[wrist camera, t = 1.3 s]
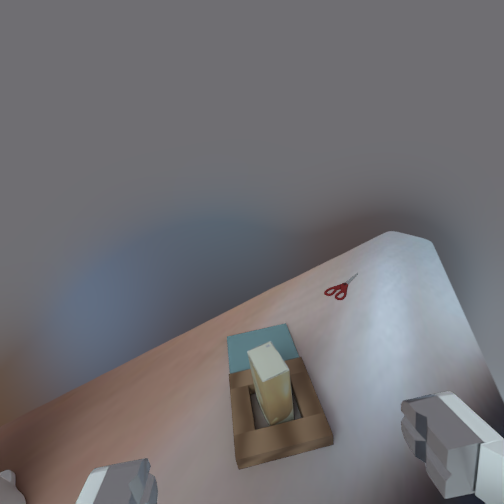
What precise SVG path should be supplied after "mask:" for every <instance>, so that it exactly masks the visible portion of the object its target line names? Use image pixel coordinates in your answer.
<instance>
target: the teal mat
mask: <svg viewBox="0 0 504 504" xmlns="http://www.w3.org/2000/svg"><path fill="white" fill-rule="evenodd" d="M269 341H271V342H272V344H273V345H274V347H275V348H276V350H277V351H278V352H279V354H280V355H281V357H282V359H283V360H284V361H286V360H290V359H294V358H299V355H298V353H297V350H296V348H295V345H294V343H293V340H292V338H291V335H290V333H289V330H288V328H287V325H286V324H281V325H277V326H273V327H268V328H264V329H259V330H255V331H251V332H246V333H242V334H237V335H233V336H228V337H227V343H228V355H229V367H230V374H231V373H235V372H240V371H244V370H248V369H251V368H250V363H249V358H248V354H247V351H248V350H251V349H253V348H255V347H257V346H260V345H262V344H264V343H267V342H269Z"/></svg>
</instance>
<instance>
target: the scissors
mask: <svg viewBox="0 0 504 504" xmlns="http://www.w3.org/2000/svg"><path fill="white" fill-rule="evenodd" d="M357 275H358V273H357V274H355V275H354V276H353V277H352V278H350V279H349V280H348V281H347V282H346V283H342V284H340V285H337V286H334V287H331V288H329V289H327V290H326V291H325V292H324V294H325V295H327V296H331V295H333V294H334V293H335V292H336V291H337V290H339V289H341V291H340V292H338V293H337V294H336V295H335V298H336V299H337V300H343V299H344V298H345V297H346V293H347V287H348V284H349V283H350V282H351V281H352V280H353V279H354V278H355V277H356V276H357ZM331 289H335V290H334V291H333V292H332V293H331V294H327V292H328V291H329V290H331ZM341 293H344V296H343V297H342V298H338V297H337V296H338V295H339V294H341Z"/></svg>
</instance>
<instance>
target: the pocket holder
mask: <svg viewBox="0 0 504 504" xmlns="http://www.w3.org/2000/svg"><path fill="white" fill-rule="evenodd" d="M284 362H285V363H286V365H287V366H288V368H289V371H290V381H291V387H292V390H293V393H294V396H295V399H296V402H297V405H298V408H299V411H300V414H301V418H300V419H296V420H292V421H288V422H285V423H281V424H277V425H273V426H269V427H265V428H261V429H257V430H256V429H255V423H254V416H253V410H252V403H251V397H250V394H253V393H256V392H255V387H254V382H253V377H252V372H251V369H248V370H244V371H240V372H235V373H231V374H229V382H230V394H231V407H232V420H233V432H234V445H235V457H236V462H237V465H238V468H239V469H243V468H247V467H250V466H254V465H258V464H262V463H265V462H269V461H273V460H277V459H281V458H284V457H288V456H292V455H296V454H300V453H303V452H307V451H311V450H315V449H318V448H322V447H326V446H330V445H333V434H332V431H331V429H330V426H329V424H328V421H327V419H326V416H325V414H324V412H323V409H322V407H321V404H320V402H319V399H318V397H317V395H316V392H315V390H314V387H313V385H312V382H311V380H310V377H309V375H308V373H307V370H306V368H305V365H304V363H303V360H302V358H301V357H299V358H294V359H290V360H286V361H284Z"/></svg>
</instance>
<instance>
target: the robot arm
mask: <svg viewBox="0 0 504 504" xmlns="http://www.w3.org/2000/svg"><path fill="white" fill-rule="evenodd" d="M401 411H402V412H403V413H404V415H405V416H404V418H403V419H402V421H401V429H402V432H403V435H404V438H405V441H406V443H407V444H408V446H409V448H410V450H411V451H412V452H413V454H414V455H415V457H417V458H418V459H420V460H422V461H423V462H425V463H426V473H427V474H428V476H429V477H430V478H431V480H432V481H433V483H434V484H435V486H436V487H437V488H438V490H439V491H440V493H441V494H442V496H443V497H444V498H445V499H447V498H452V497H457V496H462V495H467V494H472V493H475V495H476V496H477V497H478V498H480V499H481V500H482V501H484V502H485V503H486V504H504V438H502V437H501V436H500V435H499V434H498V433H497V432H496V431H495V430H494V429H492V428H491V427H490V426H489V425H488V424H487V423H486V422H485V421H484V420H483V419H481V418H480V417H479V416H478V415H477V414H476V413H475V412H474V411H473V410H472V409H470V408H469V407H468V406H467V405H466V404H465V403H464V402H463V401H462V400H460V399H459V398H458V397H457V396H456V395H455V394H454V393H452V392H450V391H445V392H440V393H436V394H429V395H425V396H421V397H417V398H413V399H408V400H404V401H403V402H402V403H401ZM150 467H151V465H150V463H149V461H148V458H145V459H140V460H134V461H129V462H124V463H118V464H113V465H108V466H103V467H99V468H95V469H94V470H93V471H92V472H91V473H90V475H89V476H88V478H87V480H86V483H85V485H84V487H83V489H82V491H81V493H80V495H79V497H78V499H77V501H76V504H157V496H158V489H157V482H156V479H155V476H153V475H151V474H150V473H149V470H150ZM0 504H26V501H25V498H24V496H23V494H22V493H21V492H20V491H19V490H17V488H16V486H15V473H14V472H12V471H11V470H5V471H2V472H0Z"/></svg>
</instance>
